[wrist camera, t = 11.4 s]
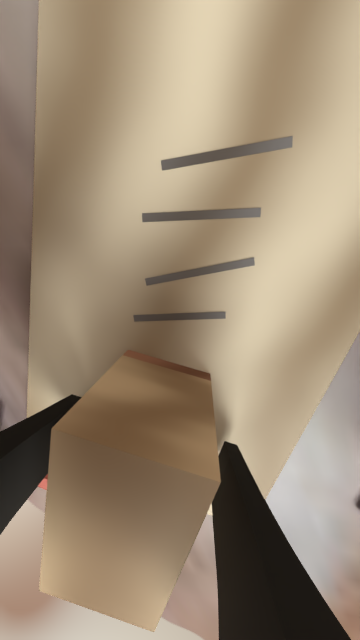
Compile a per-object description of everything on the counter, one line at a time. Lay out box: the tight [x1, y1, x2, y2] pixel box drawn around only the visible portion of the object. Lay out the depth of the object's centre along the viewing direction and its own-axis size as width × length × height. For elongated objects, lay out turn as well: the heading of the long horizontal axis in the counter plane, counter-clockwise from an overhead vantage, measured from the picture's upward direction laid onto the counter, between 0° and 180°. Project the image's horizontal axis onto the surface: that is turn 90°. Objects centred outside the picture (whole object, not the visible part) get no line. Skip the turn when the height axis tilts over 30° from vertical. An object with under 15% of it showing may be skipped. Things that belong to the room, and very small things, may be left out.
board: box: [27, 0, 360, 516], centre depth 8 cm, size 14×22×1 cm, turn 166°
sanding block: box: [39, 350, 221, 632], centre depth 7 cm, size 4×7×4 cm, turn 166°
